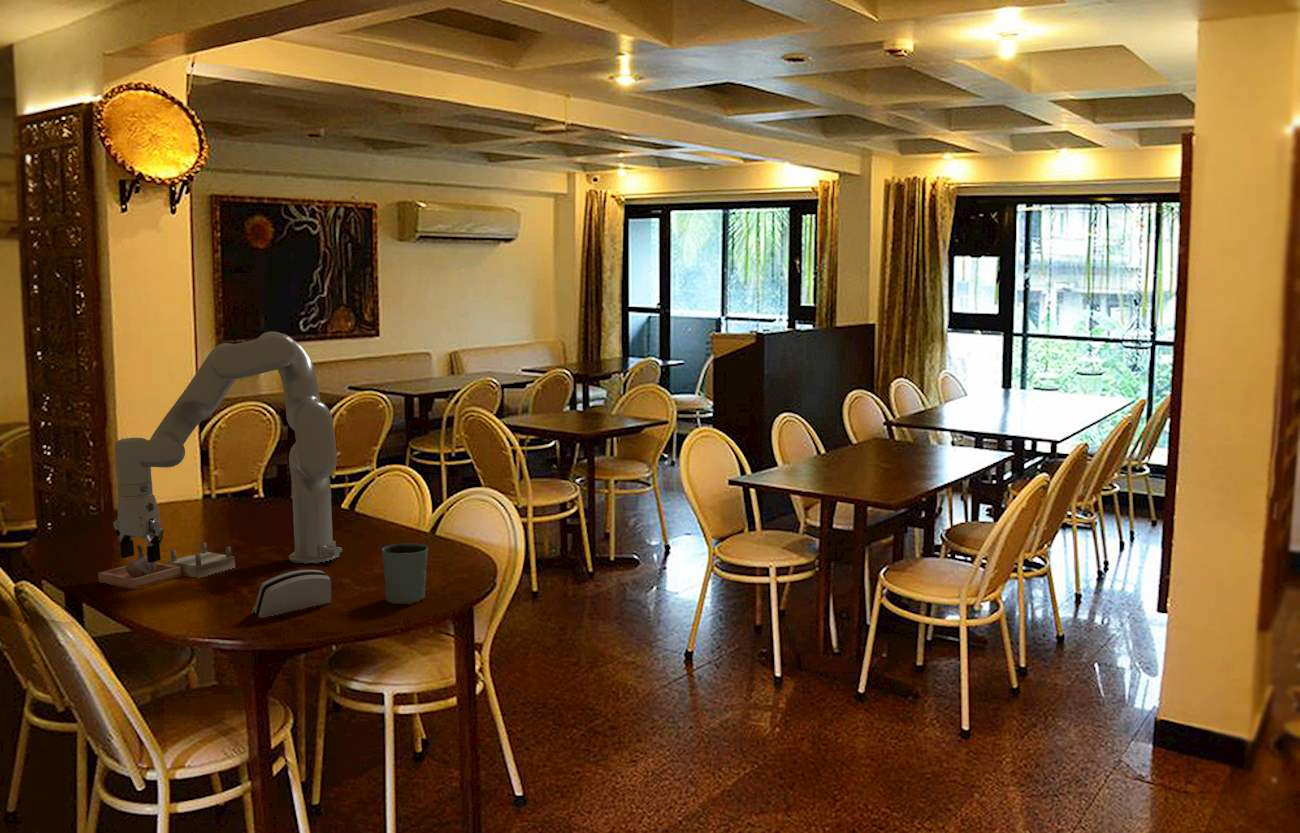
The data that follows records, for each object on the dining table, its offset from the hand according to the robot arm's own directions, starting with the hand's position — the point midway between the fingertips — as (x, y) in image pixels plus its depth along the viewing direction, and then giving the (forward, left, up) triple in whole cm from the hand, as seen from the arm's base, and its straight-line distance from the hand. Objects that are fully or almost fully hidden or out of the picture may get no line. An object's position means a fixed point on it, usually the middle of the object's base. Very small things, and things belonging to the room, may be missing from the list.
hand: (140, 559), depth 269 cm
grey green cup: (-68, -18, -5) cm, 70 cm away
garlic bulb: (0, 0, -5) cm, 5 cm away
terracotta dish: (0, 0, -5) cm, 5 cm away
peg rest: (-6, -13, -5) cm, 15 cm away
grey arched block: (-51, 0, -6) cm, 52 cm away
